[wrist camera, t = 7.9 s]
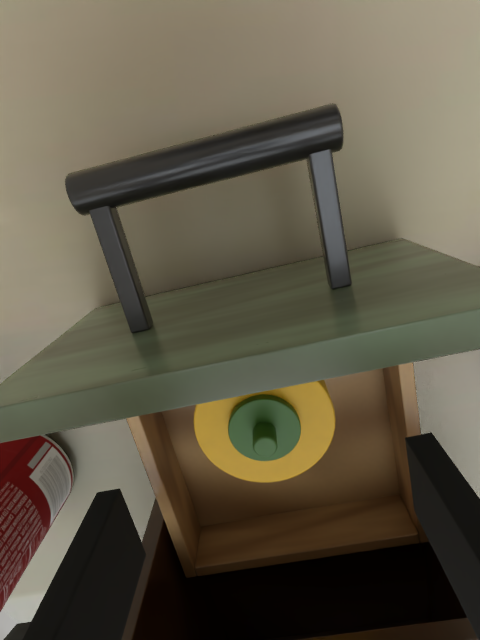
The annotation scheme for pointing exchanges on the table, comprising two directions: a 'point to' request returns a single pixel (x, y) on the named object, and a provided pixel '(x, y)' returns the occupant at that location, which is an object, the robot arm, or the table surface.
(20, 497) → the soda can
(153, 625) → the cabinet
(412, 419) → the drawer
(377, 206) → the table surface
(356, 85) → the table surface
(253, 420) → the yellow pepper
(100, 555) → the robot arm
